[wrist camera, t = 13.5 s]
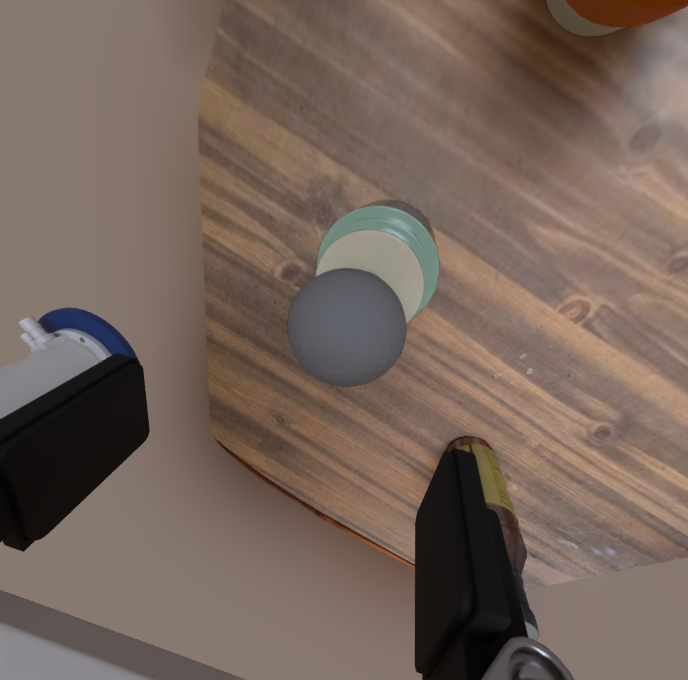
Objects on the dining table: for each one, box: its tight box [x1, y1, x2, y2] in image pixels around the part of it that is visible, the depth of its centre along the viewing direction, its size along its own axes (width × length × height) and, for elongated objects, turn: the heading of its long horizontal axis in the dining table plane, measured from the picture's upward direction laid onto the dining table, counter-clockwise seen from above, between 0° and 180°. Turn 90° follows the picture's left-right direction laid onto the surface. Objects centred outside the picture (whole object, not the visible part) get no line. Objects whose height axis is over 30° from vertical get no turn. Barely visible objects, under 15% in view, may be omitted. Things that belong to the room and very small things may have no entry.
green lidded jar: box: [316, 200, 440, 324], centre depth 29 cm, size 10×10×14 cm
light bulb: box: [287, 268, 407, 387], centre depth 19 cm, size 6×6×10 cm
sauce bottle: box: [447, 437, 539, 641], centre depth 35 cm, size 6×6×20 cm
